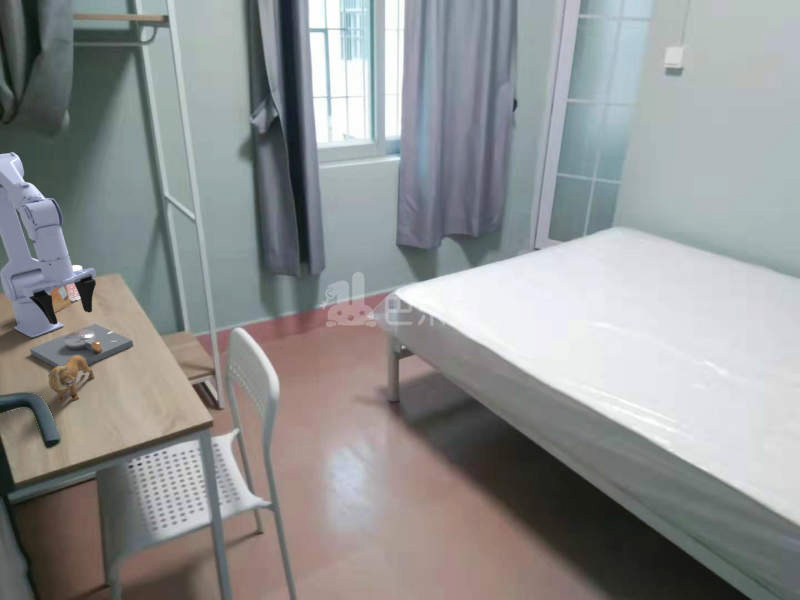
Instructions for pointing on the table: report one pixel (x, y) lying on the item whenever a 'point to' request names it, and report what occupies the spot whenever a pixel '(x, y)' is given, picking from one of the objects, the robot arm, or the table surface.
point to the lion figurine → (68, 376)
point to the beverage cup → (73, 286)
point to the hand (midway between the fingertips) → (71, 317)
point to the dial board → (60, 354)
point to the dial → (83, 341)
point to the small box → (60, 298)
